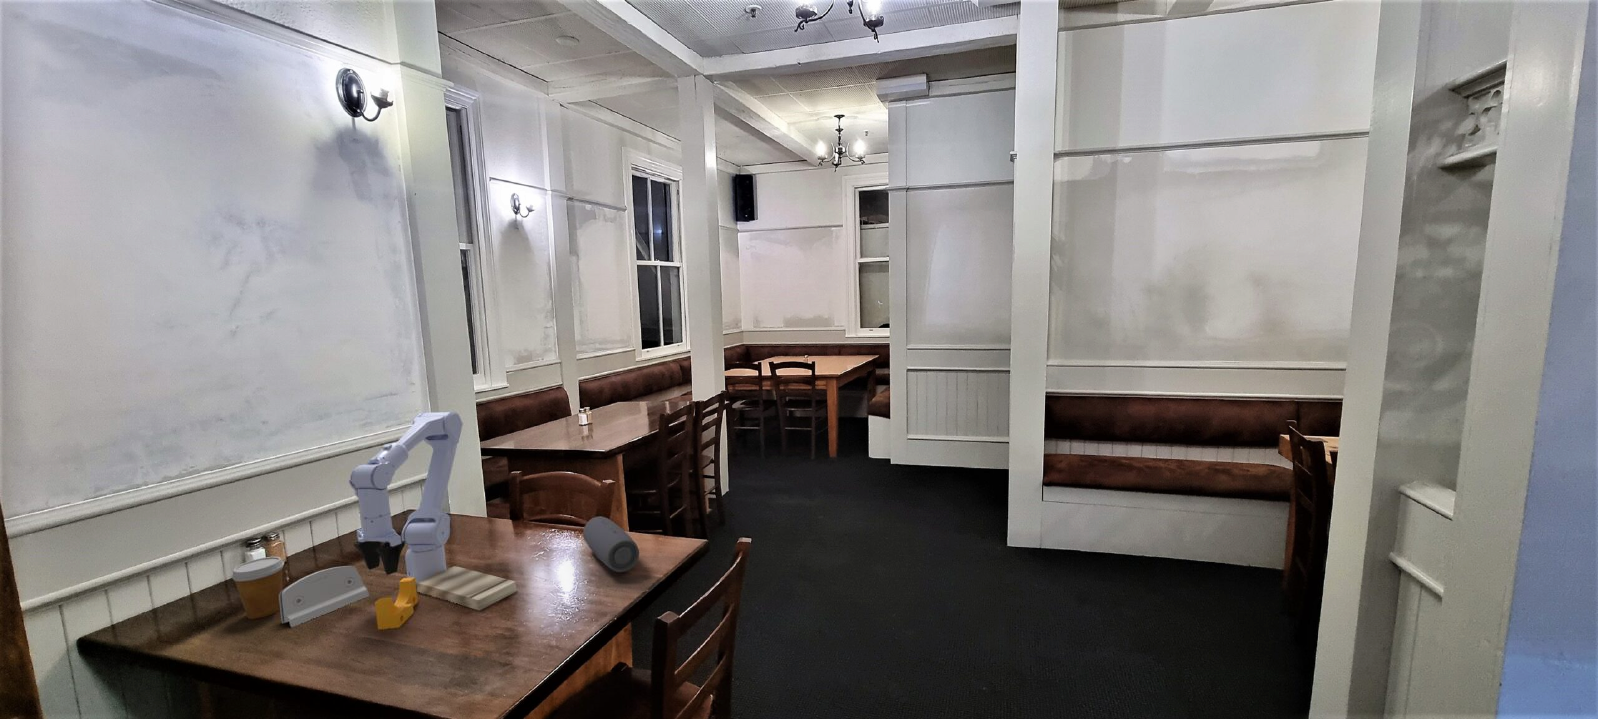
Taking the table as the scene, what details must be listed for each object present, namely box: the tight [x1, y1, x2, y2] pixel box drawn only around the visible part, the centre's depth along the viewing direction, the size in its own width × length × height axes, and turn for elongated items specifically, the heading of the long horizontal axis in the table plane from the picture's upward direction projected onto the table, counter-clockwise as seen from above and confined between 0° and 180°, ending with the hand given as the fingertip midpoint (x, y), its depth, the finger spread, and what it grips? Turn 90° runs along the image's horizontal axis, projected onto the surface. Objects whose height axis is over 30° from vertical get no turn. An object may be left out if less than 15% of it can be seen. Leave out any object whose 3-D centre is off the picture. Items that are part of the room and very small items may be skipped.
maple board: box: [416, 565, 517, 611], centre depth 153 cm, size 24×10×3 cm, turn 63°
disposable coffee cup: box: [230, 556, 285, 620], centre depth 147 cm, size 10×10×12 cm
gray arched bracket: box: [279, 565, 370, 628], centre depth 148 cm, size 17×5×10 cm, turn 150°
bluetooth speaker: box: [582, 515, 640, 573], centre depth 166 cm, size 23×9×10 cm, turn 34°
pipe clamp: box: [374, 577, 419, 631], centre depth 142 cm, size 12×4×6 cm, turn 6°
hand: (382, 570), depth 145 cm, fingers open, 7 cm apart
